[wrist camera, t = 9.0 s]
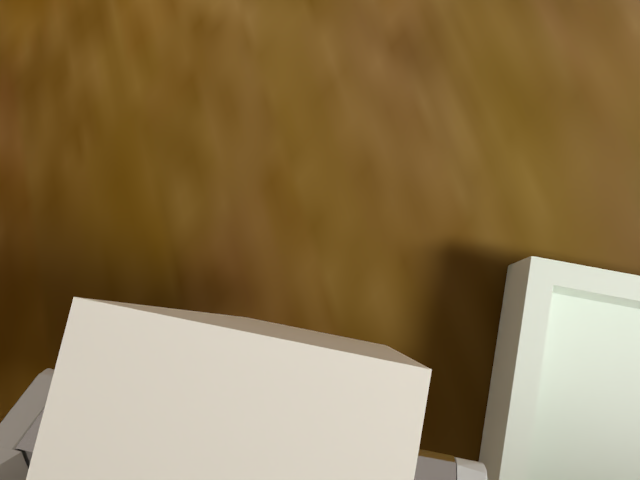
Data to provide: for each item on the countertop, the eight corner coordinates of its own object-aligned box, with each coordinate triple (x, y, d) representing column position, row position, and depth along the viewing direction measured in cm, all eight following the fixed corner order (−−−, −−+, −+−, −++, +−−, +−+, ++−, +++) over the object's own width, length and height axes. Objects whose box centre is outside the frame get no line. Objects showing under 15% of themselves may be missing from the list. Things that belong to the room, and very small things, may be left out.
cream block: (386, 345, 19) (431, 369, 7) (360, 496, 18) (361, 797, 7) (246, 317, 20) (73, 296, 8) (214, 463, 19) (-28, 686, 7)
